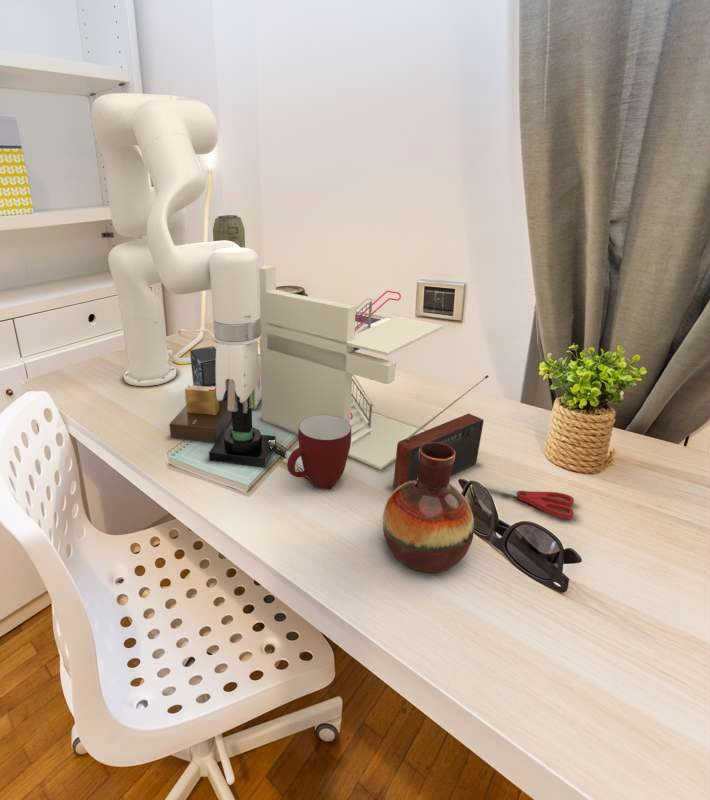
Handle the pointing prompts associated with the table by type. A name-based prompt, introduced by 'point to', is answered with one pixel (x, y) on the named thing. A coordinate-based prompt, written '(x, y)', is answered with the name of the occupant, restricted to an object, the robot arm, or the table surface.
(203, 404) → the thumb turn
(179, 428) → the plate
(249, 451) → the button block
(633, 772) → the table surface
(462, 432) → the radio
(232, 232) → the green carrying bag
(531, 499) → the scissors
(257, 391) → the ink box
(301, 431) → the mug
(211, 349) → the box
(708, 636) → the table surface
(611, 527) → the table surface
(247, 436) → the release button
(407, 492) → the vase
